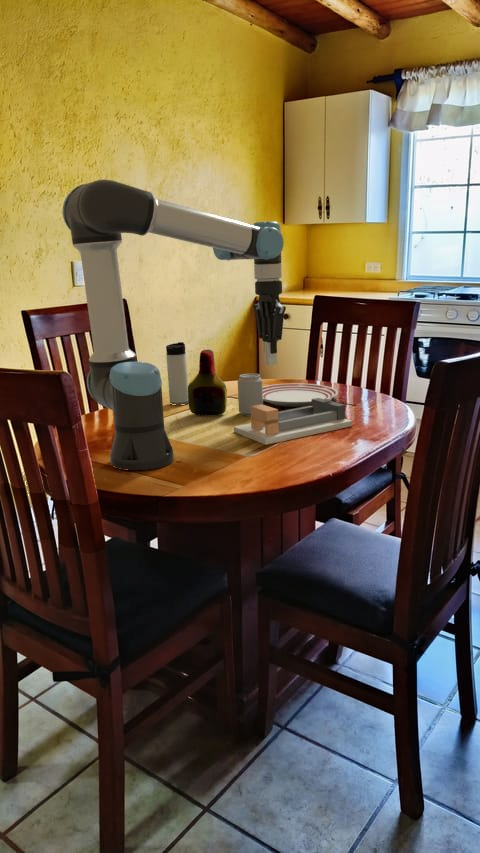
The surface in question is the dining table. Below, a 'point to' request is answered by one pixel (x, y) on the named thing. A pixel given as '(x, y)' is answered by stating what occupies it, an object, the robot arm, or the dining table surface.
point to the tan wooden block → (264, 418)
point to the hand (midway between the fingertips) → (270, 364)
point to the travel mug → (177, 373)
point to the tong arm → (295, 413)
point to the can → (249, 392)
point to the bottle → (207, 389)
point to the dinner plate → (296, 394)
